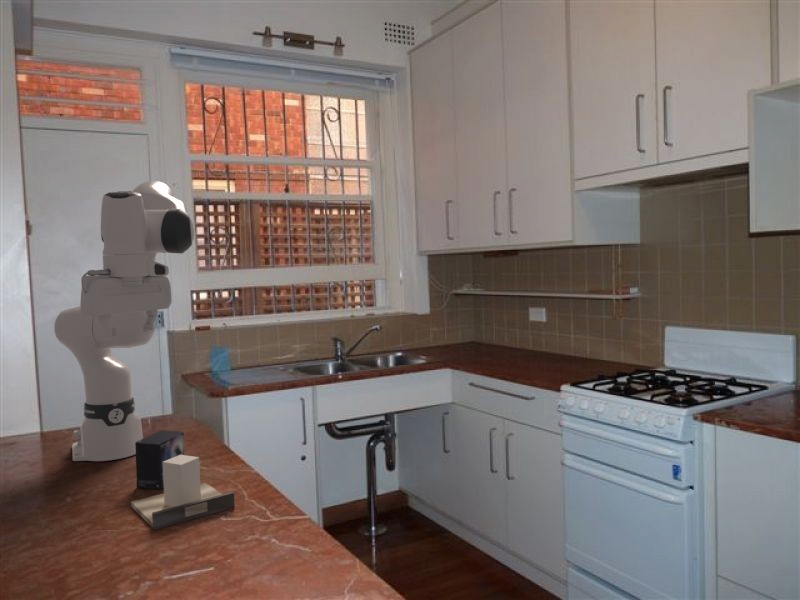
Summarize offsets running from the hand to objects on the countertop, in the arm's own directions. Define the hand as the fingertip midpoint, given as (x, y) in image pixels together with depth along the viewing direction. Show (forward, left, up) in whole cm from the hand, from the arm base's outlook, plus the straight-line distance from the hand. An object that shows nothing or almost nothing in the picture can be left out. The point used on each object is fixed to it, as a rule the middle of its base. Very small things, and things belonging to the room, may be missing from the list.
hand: (130, 334), depth 135 cm
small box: (-6, +7, -35) cm, 37 cm away
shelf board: (+12, +5, -35) cm, 37 cm away
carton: (+13, +5, -34) cm, 37 cm away
